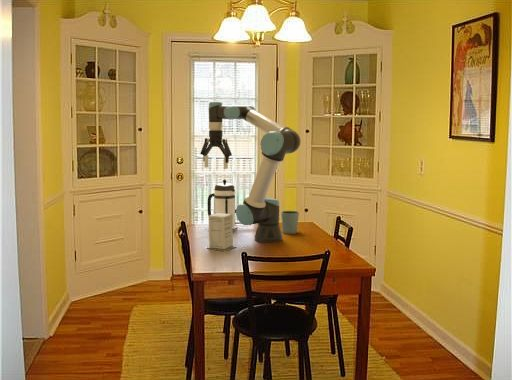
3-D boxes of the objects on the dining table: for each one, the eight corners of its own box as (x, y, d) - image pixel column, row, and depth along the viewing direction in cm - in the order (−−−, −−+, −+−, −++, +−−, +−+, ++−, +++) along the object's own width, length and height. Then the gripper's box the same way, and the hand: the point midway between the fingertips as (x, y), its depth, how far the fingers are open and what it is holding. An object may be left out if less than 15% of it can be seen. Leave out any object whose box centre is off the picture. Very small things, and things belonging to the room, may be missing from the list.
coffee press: (235, 226, 363) (235, 177, 359) (238, 231, 348) (238, 180, 344) (207, 226, 361) (207, 178, 357) (209, 232, 345) (208, 181, 341)
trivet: (236, 247, 307) (236, 246, 307) (223, 251, 298) (223, 250, 298) (220, 244, 313) (220, 243, 313) (206, 248, 304) (206, 247, 304)
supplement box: (233, 245, 308) (233, 214, 305) (224, 249, 300) (224, 216, 297) (217, 244, 312) (217, 212, 310) (208, 247, 304) (208, 215, 302)
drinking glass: (278, 232, 343) (278, 212, 342) (286, 229, 352) (287, 209, 350) (293, 234, 338) (293, 214, 336) (301, 231, 346) (301, 211, 345)
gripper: (238, 130, 322) (238, 168, 325) (202, 129, 336) (202, 166, 339) (229, 130, 316) (230, 169, 319) (193, 129, 330) (194, 167, 333)
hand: (215, 168), depth 329 cm, fingers open, 13 cm apart
